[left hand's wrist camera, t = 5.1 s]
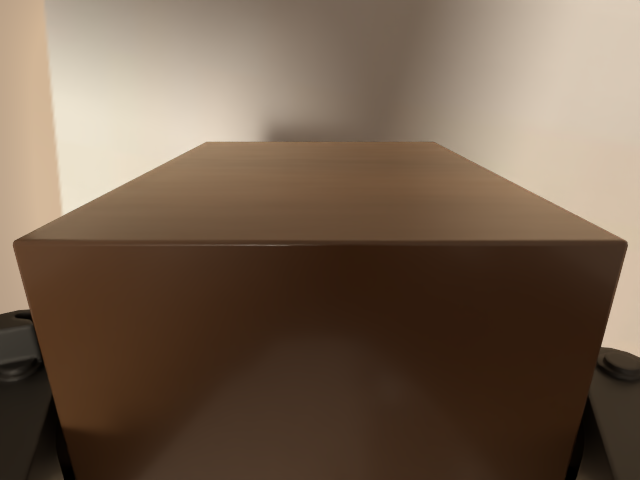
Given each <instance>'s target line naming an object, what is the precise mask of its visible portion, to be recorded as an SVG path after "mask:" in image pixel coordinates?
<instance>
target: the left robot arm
mask: <svg viewBox="0 0 640 480" xmlns="http://www.w3.org/2000/svg"><path fill="white" fill-rule="evenodd" d="M0 480H75V477H74V473H73V470H72V466H71V462H70V458H69V455H68V451H67V447H66V443H65V440H64V436H63V432H62V428H61V425H60V421H59V417H58V413H57V410H56V406H55V402H54V398H53V395H52V391H51V387H50V383H49V380H48V376H47V372H46V368H45V364H44V361H43V357H42V353H41V349H40V346H39V342H38V338H37V334H36V331H35V327H34V323H33V319H32V316H31V312H30V310H18V311H14V312H9V313H4V314H0ZM565 480H640V357H637V356H635V355H633V354H630V353H628V352H624V351H620V350H617V349H613V348H604V347H601V348H600V352H599V355H598V359H597V363H596V367H595V370H594V374H593V378H592V382H591V385H590V389H589V393H588V397H587V400H586V404H585V408H584V412H583V415H582V419H581V423H580V427H579V430H578V434H577V438H576V442H575V445H574V449H573V453H572V457H571V460H570V464H569V468H568V472H567V475H566V479H565Z"/></svg>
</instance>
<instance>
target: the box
mask: <svg viewBox="0 0 640 480" xmlns="http://www.w3.org/2000/svg"><path fill="white" fill-rule="evenodd" d="M627 247H628V244H627V241H626V240H624V239H622V238H620V237H618V236H616V235H614V234H612V233H610V232H608V231H606V230H604V229H602V228H600V227H598V226H596V225H594V224H592V223H591V222H589V221H587V220H585V219H583V218H581V217H579V216H577V215H575V214H573V213H571V212H569V211H567V210H565V209H563V208H561V207H559V206H557V205H556V204H554V203H552V202H550V201H548V200H546V199H544V198H542V197H540V196H538V195H536V194H534V193H532V192H530V191H528V190H526V189H524V188H522V187H521V186H519V185H517V184H515V183H513V182H511V181H509V180H507V179H505V178H503V177H501V176H499V175H497V174H495V173H493V172H491V171H489V170H487V169H486V168H484V167H482V166H480V165H478V164H476V163H474V162H472V161H470V160H468V159H466V158H464V157H462V156H460V155H458V154H456V153H454V152H452V151H451V150H449V149H447V148H445V147H443V146H441V145H439V144H437V143H435V142H205V143H203V144H201V145H199V146H198V147H196V148H194V149H192V150H190V151H188V152H186V153H184V154H182V155H180V156H178V157H176V158H174V159H172V160H170V161H168V162H166V163H165V164H163V165H161V166H159V167H157V168H155V169H153V170H151V171H149V172H147V173H145V174H143V175H141V176H139V177H137V178H135V179H133V180H132V181H130V182H128V183H126V184H124V185H122V186H120V187H118V188H116V189H114V190H112V191H110V192H108V193H106V194H104V195H102V196H100V197H99V198H97V199H95V200H93V201H91V202H89V203H87V204H85V205H83V206H81V207H79V208H77V209H75V210H73V211H71V212H69V213H67V214H66V215H64V216H62V217H60V218H58V219H56V220H54V221H52V222H50V223H48V224H46V225H44V226H42V227H40V228H38V229H36V230H34V231H33V232H31V233H29V234H27V235H25V236H23V237H21V238H19V239H17V240H15V241H14V242H13V248H14V252H15V255H16V259H17V263H18V267H19V270H20V274H21V278H22V282H23V285H24V289H25V293H26V297H27V301H28V304H29V308H30V312H31V316H32V319H33V323H34V327H35V331H36V334H37V338H38V342H39V346H40V349H41V353H42V357H43V361H44V364H45V368H46V372H47V376H48V380H49V383H50V387H51V391H52V395H53V398H54V402H55V406H56V410H57V413H58V417H59V421H60V425H61V428H62V432H63V436H64V440H65V443H66V447H67V451H68V455H69V458H70V462H71V466H72V470H73V473H74V477H75V480H565V479H566V475H567V472H568V468H569V464H570V460H571V457H572V453H573V449H574V445H575V442H576V438H577V434H578V430H579V427H580V423H581V419H582V415H583V412H584V408H585V404H586V400H587V397H588V393H589V389H590V385H591V382H592V378H593V374H594V370H595V367H596V363H597V359H598V355H599V352H600V348H601V344H602V340H603V337H604V333H605V329H606V325H607V322H608V318H609V314H610V310H611V307H612V303H613V299H614V295H615V292H616V288H617V284H618V280H619V277H620V273H621V269H622V265H623V262H624V258H625V254H626V250H627Z"/></svg>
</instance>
